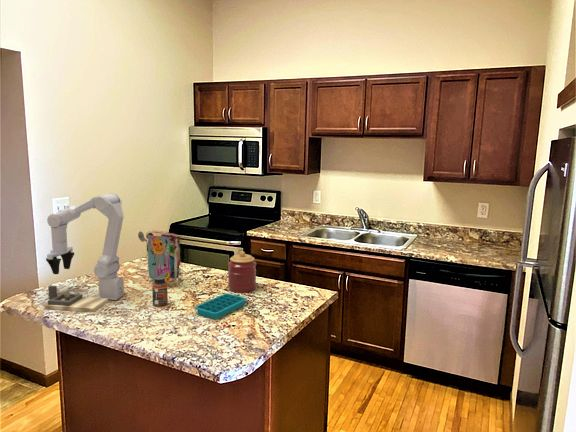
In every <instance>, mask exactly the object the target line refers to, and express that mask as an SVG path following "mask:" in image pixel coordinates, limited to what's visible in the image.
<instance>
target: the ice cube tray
mask: <svg viewBox="0 0 576 432" xmlns="http://www.w3.org/2000/svg"><path fill="white" fill-rule="evenodd" d="M247 300H248V299H247V297H244V296H239V295H237V294H232V293H222V294H221V295H218V296H216V297H213V298H212V299H208V300H207V301H205V302H203V303H200V304H198V305H195V306H194V309H195V310H196V311H197V312H196V313H197V314H198V315H200V316H203V317H206V318H208V319H209V318H211V319H214V320H218V319H221V317H224V316H225V315H228V314H230V313H231V312H233V311H235V310H238V309H240V308H242V307H244V306H245V301H247Z"/></svg>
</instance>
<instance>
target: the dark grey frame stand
mask: <svg viewBox="0 0 576 432" xmlns="http://www.w3.org/2000/svg"><path fill="white" fill-rule="evenodd" d="M47 288H48V300H47V304H48V305H63V306H70V305H72V304H73V303H75V302H77V301H78V300H80V299H82V298H83V297H84V296H83V294H80V293H78V294H77V293H70V300H68V301H65V300H61V299H63V298H64V293H65V292H63V293H60V294H58V289H57V288H58V287H57V285H52V284H51V285H49V286H48V287H47Z"/></svg>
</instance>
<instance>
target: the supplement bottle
mask: <svg viewBox="0 0 576 432" xmlns="http://www.w3.org/2000/svg"><path fill="white" fill-rule="evenodd" d="M151 286H152V287H151V290H152V291H151V292H152V293H151V294H152V295H151V296H152V306H154V307H164V306H166V305H167V304H168V294H169V293H168V287H167V286H168V282H165V277H156V278H155V281H153V282H152V284H151Z"/></svg>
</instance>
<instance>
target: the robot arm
mask: <svg viewBox="0 0 576 432" xmlns="http://www.w3.org/2000/svg"><path fill="white" fill-rule="evenodd" d="M122 203H123V201H122V199H121V197H120V196H119V195H118V194H117V193H115V192H113V193H112V192H111V193H108V194H102V195H101V194H100V195H97V196H94V197H91V198H90V199H88V200H86V201H84V202H82V203H80V204H79V205H77V206H76V205H73V204H72V205H69V204H68V205H66V206H65V208H64V209H60V210H58V211H57V213H51V214H49V215H48V216H47V218H46V220H47V224H48V226H49V227H50V231H51V232H50V233H51V245H52V246H51V247H52V248H51V250H50V252H49V253H48V254H46V258H45V261H46V262H47V264H48V265H49V267H50V269H51V272H52V274H53V275H59V274H60V263H61V260H62V265H63V269H64V270H70V268H71V264H72V261H73V260H72V259H73V258H74V256H75V252H73V251H74V250H73V246H68V234H67V232H68V231H67V228H68V224H69V223H71V222H72V221H74V220H77V219H79V218H80V217H81V215H82V213H84V212H86V211H89V210H91V209H93V210H94V209H96V210H97V211H98V212H100V213H101V214H102V215H104V216H105V217H106V218H107V219H108V222H107V227H106V232H105V237H104V243H103V248H102V254H101V256H99V258H98V260H97V263H96V264H95V266H94V268H93V273H94V275H95V276H96V278H97V279H98V295H96V296H95V297H94V298H108V301H116V300H117V301H118V299H120V298H121V297H122V296H124V295H125V294H126V293H125V289H124V287H125V286H124V285H125V284H124V283H125V282H124V279H123V277H121V276H118V272H119V270H120V268H121V266H120V257H118V255H117V254H118V248H119V243H120V237H121V232H122V228H123V227H122V226H123V221H124V212H123V208H122ZM58 257H60V258H58Z"/></svg>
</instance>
